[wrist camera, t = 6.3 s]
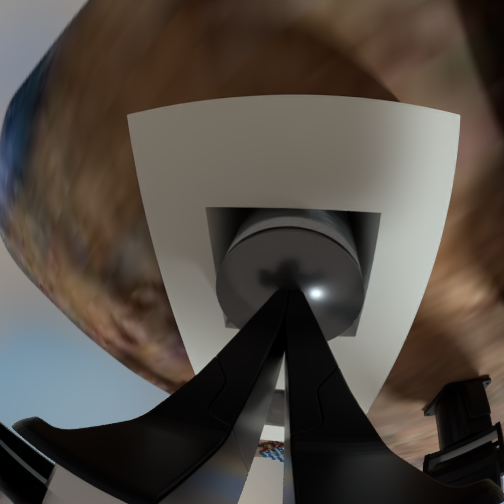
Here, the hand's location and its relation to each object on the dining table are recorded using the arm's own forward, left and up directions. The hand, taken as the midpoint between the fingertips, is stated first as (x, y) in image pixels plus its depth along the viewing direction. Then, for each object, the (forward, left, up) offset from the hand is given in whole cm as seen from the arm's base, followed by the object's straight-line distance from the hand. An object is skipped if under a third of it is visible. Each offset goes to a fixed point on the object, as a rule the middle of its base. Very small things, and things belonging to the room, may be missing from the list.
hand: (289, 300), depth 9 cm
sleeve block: (-5, 0, -7) cm, 9 cm away
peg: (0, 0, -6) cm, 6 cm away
